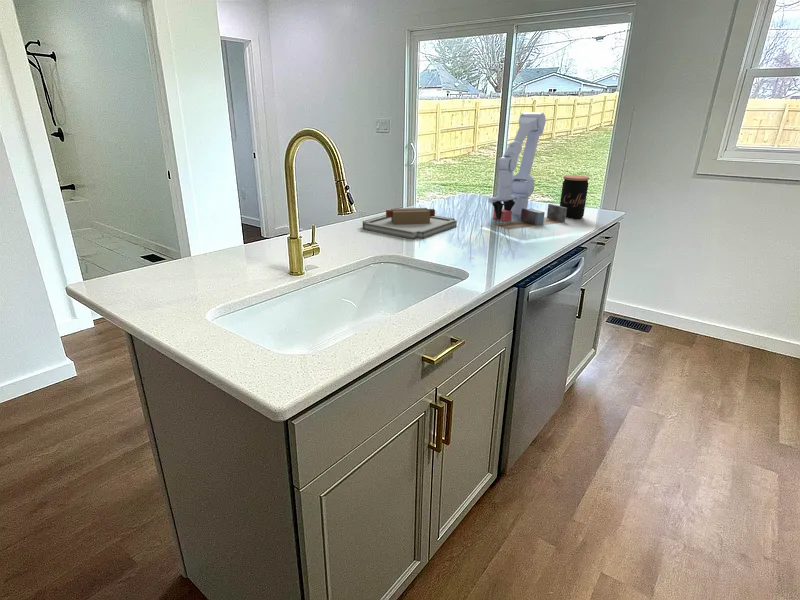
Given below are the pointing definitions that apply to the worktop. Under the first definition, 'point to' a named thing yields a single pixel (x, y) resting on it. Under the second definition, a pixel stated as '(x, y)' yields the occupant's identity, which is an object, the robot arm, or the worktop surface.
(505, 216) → the red rectangular block
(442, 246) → the worktop surface
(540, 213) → the slate book
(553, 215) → the book shelf
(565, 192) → the coffee jar
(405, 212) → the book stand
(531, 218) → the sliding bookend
